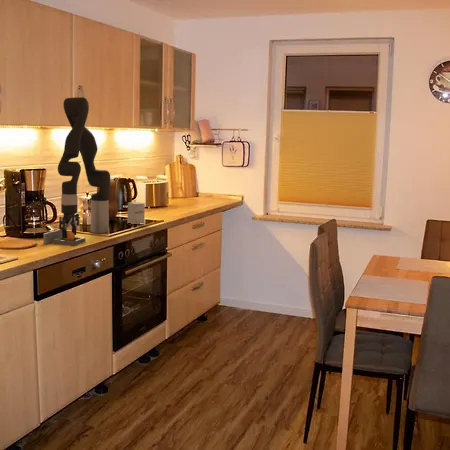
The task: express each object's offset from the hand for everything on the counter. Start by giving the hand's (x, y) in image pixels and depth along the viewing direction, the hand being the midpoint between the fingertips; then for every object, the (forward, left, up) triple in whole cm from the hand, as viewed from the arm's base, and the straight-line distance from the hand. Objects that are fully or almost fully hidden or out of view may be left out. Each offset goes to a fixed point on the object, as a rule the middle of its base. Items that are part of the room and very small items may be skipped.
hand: (69, 236), depth 290 cm
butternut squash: (-68, -16, -3) cm, 70 cm away
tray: (0, 0, -3) cm, 3 cm away
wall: (0, -8, -3) cm, 9 cm away
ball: (0, 0, 0) cm, 0 cm away
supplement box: (-66, +4, -3) cm, 66 cm away
